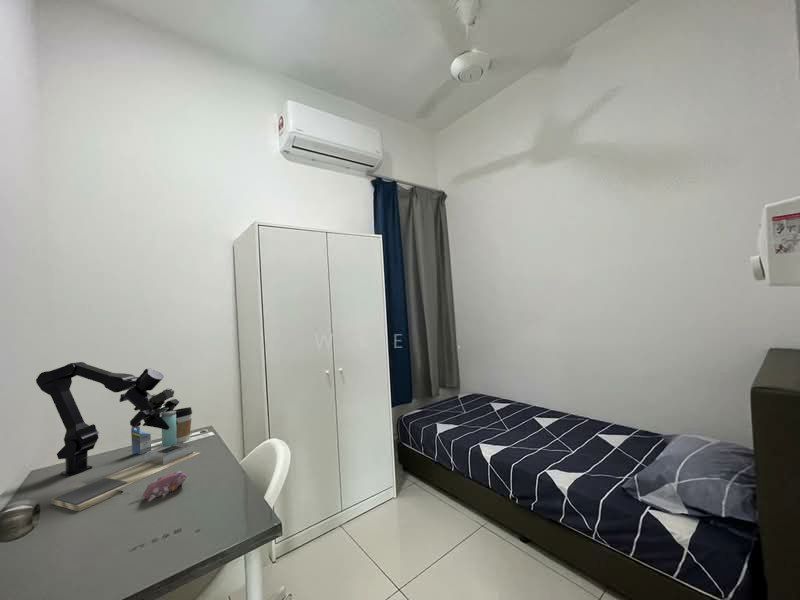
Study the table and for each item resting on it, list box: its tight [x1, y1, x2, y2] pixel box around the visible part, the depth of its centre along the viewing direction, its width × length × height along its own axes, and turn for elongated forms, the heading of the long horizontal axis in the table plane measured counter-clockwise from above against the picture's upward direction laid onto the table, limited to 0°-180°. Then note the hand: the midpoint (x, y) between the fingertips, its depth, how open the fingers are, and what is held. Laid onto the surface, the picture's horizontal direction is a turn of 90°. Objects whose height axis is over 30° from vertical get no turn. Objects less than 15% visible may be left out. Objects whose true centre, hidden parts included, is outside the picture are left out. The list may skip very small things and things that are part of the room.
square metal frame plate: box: [143, 442, 195, 466], centre depth 116 cm, size 11×11×3 cm
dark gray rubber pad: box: [53, 477, 127, 505], centre depth 94 cm, size 12×12×1 cm
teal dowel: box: [161, 411, 177, 448], centre depth 116 cm, size 4×4×12 cm
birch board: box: [51, 451, 200, 513], centre depth 104 cm, size 15×35×2 cm, turn 159°
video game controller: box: [143, 470, 187, 500], centre depth 92 cm, size 10×5×7 cm, turn 143°
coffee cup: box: [173, 406, 193, 443], centre depth 134 cm, size 8×8×15 cm
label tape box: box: [130, 426, 152, 455], centre depth 125 cm, size 9×4×12 cm, turn 59°
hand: (172, 426), depth 116 cm, fingers closed on teal dowel, 4 cm apart
